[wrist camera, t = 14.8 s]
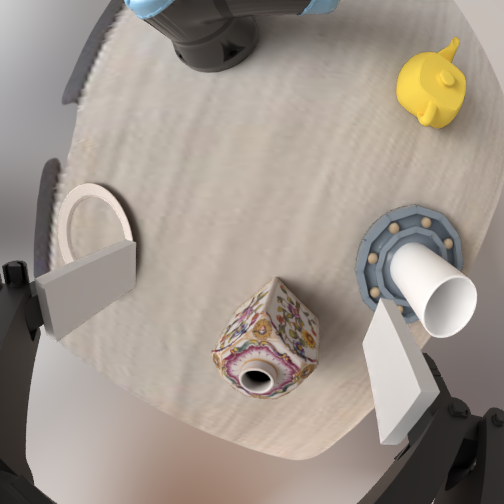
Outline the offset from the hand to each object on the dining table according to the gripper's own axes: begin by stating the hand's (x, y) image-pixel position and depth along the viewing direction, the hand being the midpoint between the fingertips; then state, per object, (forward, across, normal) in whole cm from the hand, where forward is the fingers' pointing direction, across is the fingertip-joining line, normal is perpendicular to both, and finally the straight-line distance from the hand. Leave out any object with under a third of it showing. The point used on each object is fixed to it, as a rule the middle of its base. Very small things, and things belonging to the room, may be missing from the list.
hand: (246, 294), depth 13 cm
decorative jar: (+32, +1, -19) cm, 37 cm away
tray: (+32, +22, -4) cm, 39 cm away
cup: (+31, +22, -4) cm, 38 cm away
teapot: (+32, +19, +26) cm, 45 cm away
